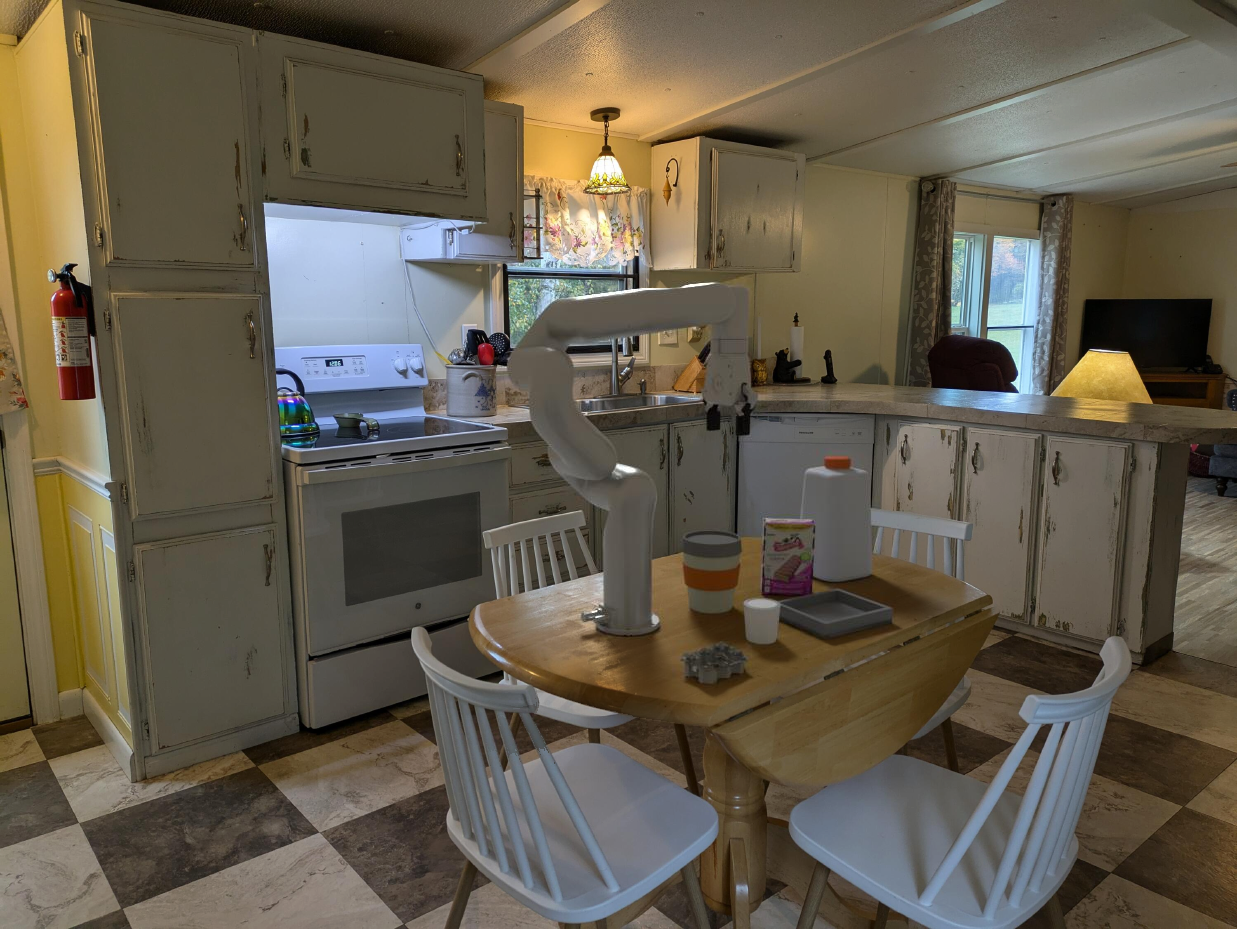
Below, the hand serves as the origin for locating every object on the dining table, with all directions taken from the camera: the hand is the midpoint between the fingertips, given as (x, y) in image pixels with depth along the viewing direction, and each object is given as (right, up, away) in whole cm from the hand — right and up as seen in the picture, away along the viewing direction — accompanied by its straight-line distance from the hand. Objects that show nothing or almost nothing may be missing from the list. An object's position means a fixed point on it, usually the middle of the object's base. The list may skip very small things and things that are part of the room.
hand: (727, 432), depth 173 cm
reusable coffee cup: (-3, -37, +5) cm, 37 cm away
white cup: (+5, -40, -13) cm, 42 cm away
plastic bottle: (+29, -33, +30) cm, 53 cm away
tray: (+20, -38, -3) cm, 43 cm away
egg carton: (-6, -42, -28) cm, 51 cm away
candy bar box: (+15, -35, +14) cm, 41 cm away
